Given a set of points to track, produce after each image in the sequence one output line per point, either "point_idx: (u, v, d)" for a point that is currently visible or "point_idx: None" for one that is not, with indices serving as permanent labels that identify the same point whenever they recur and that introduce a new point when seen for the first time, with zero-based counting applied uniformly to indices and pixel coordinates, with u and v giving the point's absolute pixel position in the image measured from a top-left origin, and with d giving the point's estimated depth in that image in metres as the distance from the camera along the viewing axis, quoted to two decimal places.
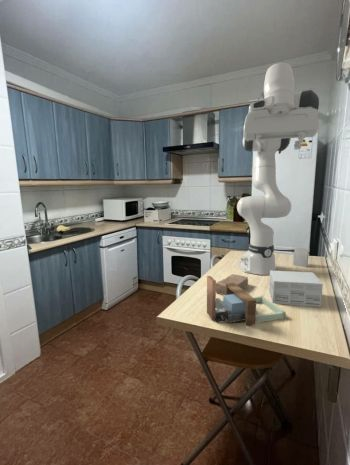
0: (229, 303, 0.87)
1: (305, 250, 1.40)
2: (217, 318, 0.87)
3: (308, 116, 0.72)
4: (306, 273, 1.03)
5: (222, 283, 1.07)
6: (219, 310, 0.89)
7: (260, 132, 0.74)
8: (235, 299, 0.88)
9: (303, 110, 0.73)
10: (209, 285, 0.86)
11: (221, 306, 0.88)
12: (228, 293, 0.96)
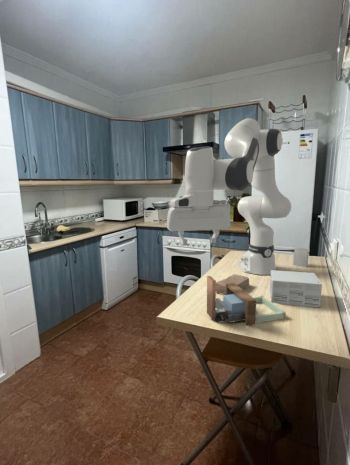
0: (229, 303, 0.87)
1: (305, 250, 1.40)
2: (217, 318, 0.87)
3: (223, 216, 0.80)
4: (307, 274, 1.02)
5: (222, 283, 1.07)
6: (219, 310, 0.89)
7: (184, 230, 0.78)
8: (235, 299, 0.88)
9: (219, 208, 0.80)
10: (209, 285, 0.86)
11: (221, 306, 0.88)
12: (228, 293, 0.96)
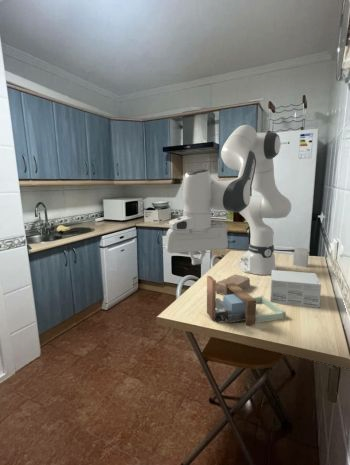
0: (229, 303, 0.87)
1: (305, 250, 1.40)
2: (217, 318, 0.87)
3: (220, 237, 0.82)
4: (307, 274, 1.02)
5: (222, 283, 1.07)
6: (219, 310, 0.89)
7: (182, 251, 0.80)
8: (235, 299, 0.88)
9: (217, 230, 0.81)
10: (209, 285, 0.86)
11: (221, 306, 0.88)
12: (228, 293, 0.96)
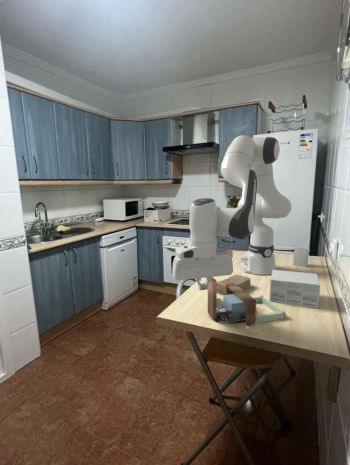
0: (229, 303, 0.87)
1: (305, 250, 1.40)
2: (217, 318, 0.87)
3: (226, 263, 0.84)
4: (308, 274, 1.02)
5: (222, 283, 1.08)
6: (220, 310, 0.89)
7: (189, 278, 0.82)
8: (235, 299, 0.88)
9: (222, 256, 0.83)
10: (210, 285, 0.86)
11: (222, 306, 0.88)
12: (228, 293, 0.96)
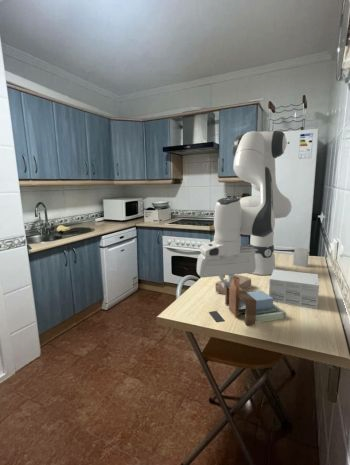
0: None
1: (305, 250, 1.40)
2: (217, 318, 0.87)
3: (249, 261, 0.86)
4: (309, 274, 1.01)
5: None
6: (241, 307, 0.90)
7: None
8: (254, 296, 0.90)
9: (246, 254, 0.85)
10: (233, 282, 0.88)
11: (243, 303, 0.90)
12: (228, 293, 0.96)
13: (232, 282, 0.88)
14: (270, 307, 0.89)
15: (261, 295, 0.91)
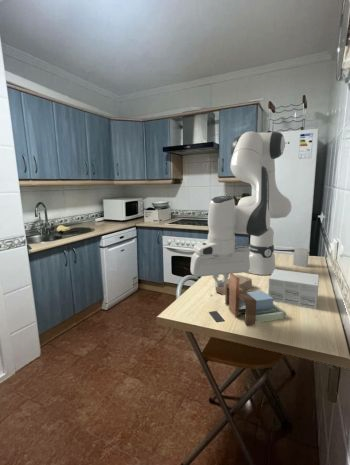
0: None
1: (305, 250, 1.40)
2: (217, 318, 0.87)
3: (243, 260, 0.85)
4: (309, 275, 1.01)
5: None
6: (241, 307, 0.90)
7: (207, 275, 0.83)
8: (254, 296, 0.90)
9: (240, 254, 0.84)
10: (233, 282, 0.88)
11: (243, 303, 0.90)
12: (228, 293, 0.96)
13: (232, 282, 0.88)
14: (270, 307, 0.89)
15: (261, 295, 0.91)
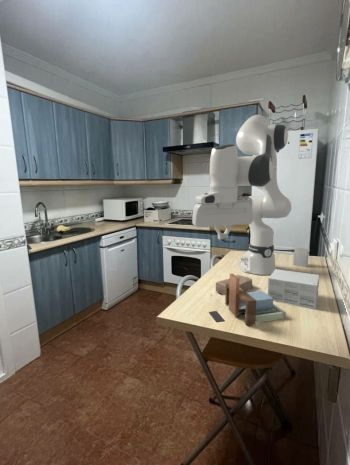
0: None
1: (305, 250, 1.40)
2: (217, 318, 0.87)
3: (246, 211, 0.83)
4: (310, 275, 1.01)
5: (222, 283, 1.08)
6: (241, 307, 0.90)
7: (209, 226, 0.82)
8: (254, 296, 0.90)
9: (243, 204, 0.83)
10: (232, 282, 0.88)
11: (243, 303, 0.90)
12: (228, 293, 0.96)
13: (232, 282, 0.88)
14: (270, 307, 0.89)
15: (261, 295, 0.91)
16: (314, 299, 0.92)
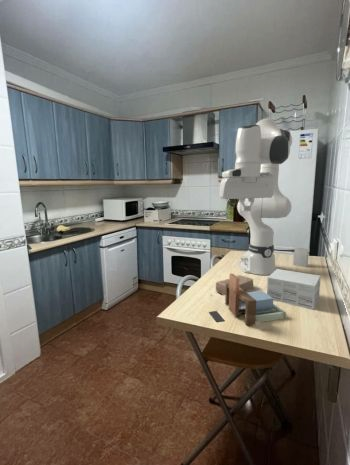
0: None
1: (305, 250, 1.40)
2: (217, 318, 0.87)
3: (267, 186, 0.93)
4: (310, 275, 1.00)
5: (222, 283, 1.08)
6: (241, 307, 0.90)
7: (235, 198, 0.91)
8: (254, 296, 0.90)
9: (265, 179, 0.92)
10: (232, 282, 0.88)
11: (243, 303, 0.90)
12: (228, 293, 0.96)
13: (232, 282, 0.88)
14: (270, 307, 0.89)
15: (261, 295, 0.91)
16: (312, 299, 0.92)
